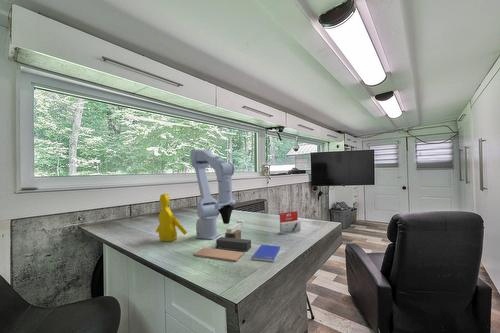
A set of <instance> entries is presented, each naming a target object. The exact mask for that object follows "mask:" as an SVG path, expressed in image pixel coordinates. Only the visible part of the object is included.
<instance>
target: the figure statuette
mask: <svg viewBox="0 0 500 333" xmlns="http://www.w3.org/2000/svg"><path fill="white" fill-rule="evenodd" d="M170 201H171V199H170V196H169V193H162V194H160V197H159V203H160V206H161V210H160V212H159V214H158V221H159V225H158V226H157V228H156V230H155V233H156V234H157V233H158V238H159V240H160V241H162V242H173V241H174V240H177V239H178V232H177V228H178V229H179V231H180V232H181V233H182V234H183V235H184V236H185V235H186V234H187V233H188V232H187V230H186V229H185V228H184V226H183V225H182V224H181V223H180V222H179V220H178V218H177V217H176V216H174V213H173V211H172V210H171V209H170V207H169V205H170Z"/></svg>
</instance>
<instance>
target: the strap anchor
mask: <svg viewBox="0 0 500 333" xmlns="http://www.w3.org/2000/svg"><path fill="white" fill-rule="evenodd" d="M224 235H225V236H224V237H226V238H237V239H242V230H241V229H238V230H237V231H235V232H233V233H232V234H230V233H227V231H226V232H225V233H224Z"/></svg>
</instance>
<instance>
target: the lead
mask: <svg viewBox="0 0 500 333" xmlns="http://www.w3.org/2000/svg"><path fill="white" fill-rule="evenodd" d="M215 244H216V246H215V247H216V248H215V249H217V248H218V249H223V250H231V251H240V252H248V251H249V250H250V249H251V248H252V240H251V239H245V238H241V239H237V238H226V237H225V236H224V237H223V236H220V237H219V238H216V239H215Z"/></svg>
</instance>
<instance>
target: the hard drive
mask: <svg viewBox="0 0 500 333" xmlns="http://www.w3.org/2000/svg"><path fill="white" fill-rule="evenodd" d="M281 248H282V247H281V246H280V245H279V246H278V245H268V244H261V245H260V246H259V247H258V248H257V249H256V251H255V252H254V253H253V255H251V260H255V261H262V262H263V261H264V262H272V263H273V262H275V261H276V259H277V257H278V254H279V253H280V251H281Z"/></svg>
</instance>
